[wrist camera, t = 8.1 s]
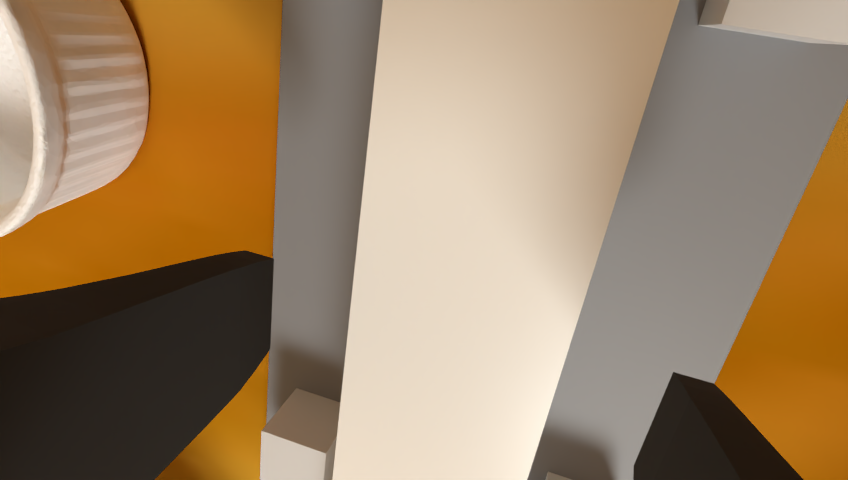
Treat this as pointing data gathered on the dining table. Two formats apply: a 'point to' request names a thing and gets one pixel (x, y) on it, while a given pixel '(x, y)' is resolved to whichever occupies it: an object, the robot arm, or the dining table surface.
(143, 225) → the dining table surface
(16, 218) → the ramekin
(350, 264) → the collar stand
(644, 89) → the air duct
